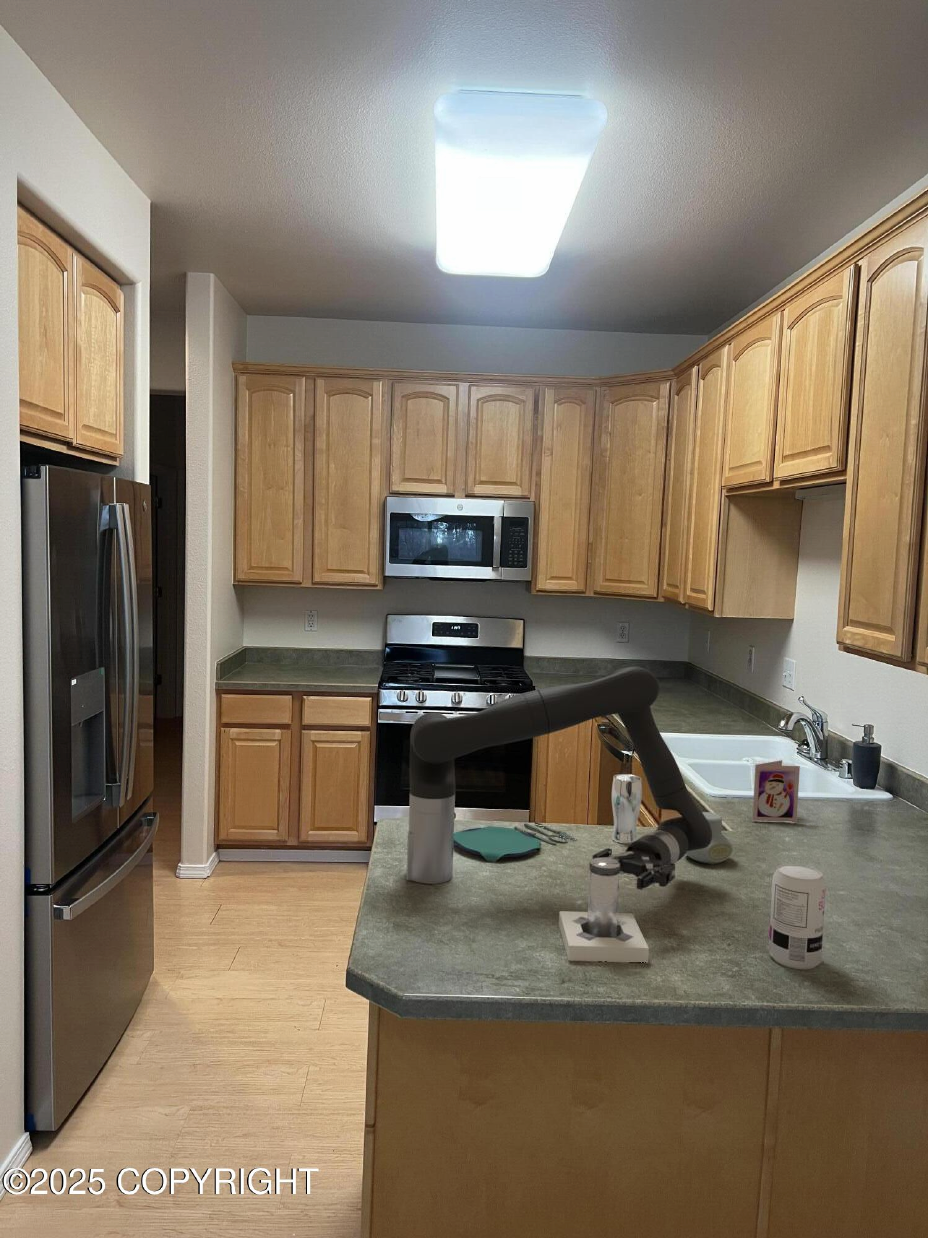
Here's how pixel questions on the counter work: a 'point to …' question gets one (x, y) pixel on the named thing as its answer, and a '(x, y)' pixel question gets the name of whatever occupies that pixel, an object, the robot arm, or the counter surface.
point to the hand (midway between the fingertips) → (616, 878)
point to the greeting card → (776, 792)
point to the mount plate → (602, 940)
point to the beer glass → (626, 807)
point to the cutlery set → (504, 841)
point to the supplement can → (797, 916)
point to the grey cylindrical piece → (603, 897)
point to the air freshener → (713, 843)
